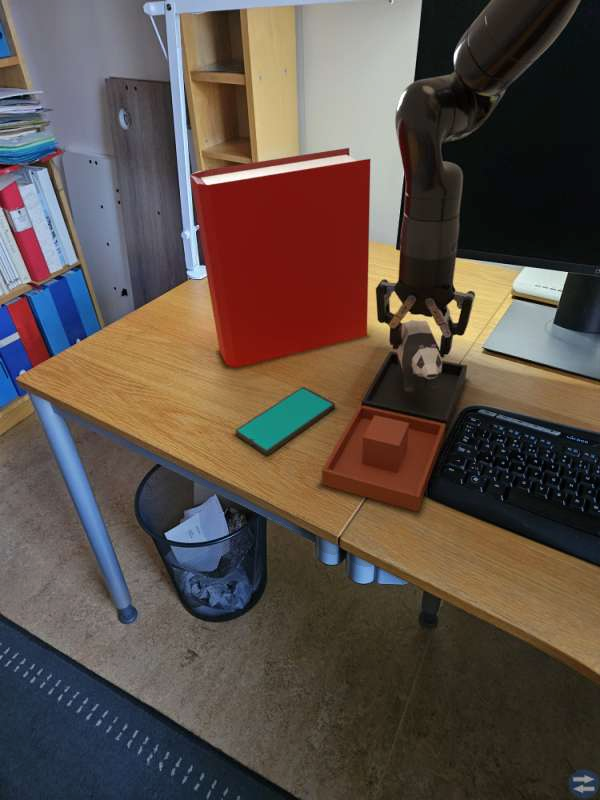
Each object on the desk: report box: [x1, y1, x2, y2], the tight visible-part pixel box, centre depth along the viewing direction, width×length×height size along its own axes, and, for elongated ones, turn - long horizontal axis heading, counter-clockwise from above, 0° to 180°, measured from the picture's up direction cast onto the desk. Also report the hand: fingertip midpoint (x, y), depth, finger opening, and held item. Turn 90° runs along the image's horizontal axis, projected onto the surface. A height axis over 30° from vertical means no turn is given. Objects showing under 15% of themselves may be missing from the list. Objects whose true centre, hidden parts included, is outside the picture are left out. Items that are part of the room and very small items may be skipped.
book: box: [189, 147, 371, 368], centre depth 97 cm, size 27×8×32 cm, turn 110°
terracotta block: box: [362, 415, 409, 473], centre depth 77 cm, size 5×5×5 cm
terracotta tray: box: [321, 404, 446, 512], centre depth 78 cm, size 13×15×3 cm
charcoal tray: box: [360, 350, 468, 436], centre depth 90 cm, size 13×15×3 cm
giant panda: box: [395, 319, 443, 393], centre depth 85 cm, size 15×6×10 cm, turn 2°
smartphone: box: [235, 386, 336, 456], centre depth 87 cm, size 7×1×15 cm
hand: (419, 350), depth 85 cm, fingers closed on giant panda, 6 cm apart
